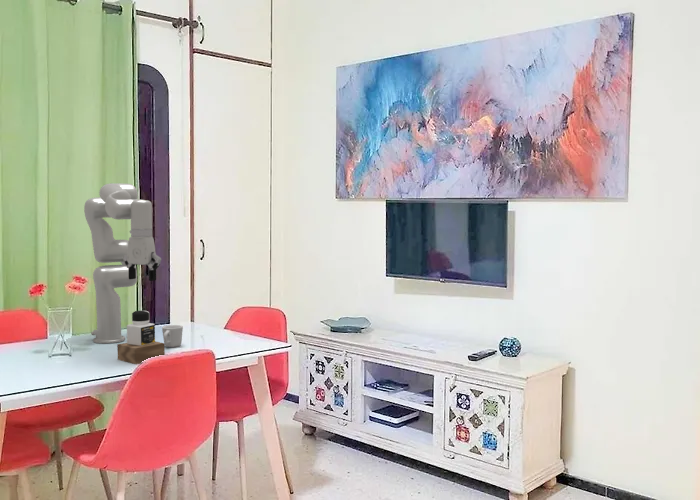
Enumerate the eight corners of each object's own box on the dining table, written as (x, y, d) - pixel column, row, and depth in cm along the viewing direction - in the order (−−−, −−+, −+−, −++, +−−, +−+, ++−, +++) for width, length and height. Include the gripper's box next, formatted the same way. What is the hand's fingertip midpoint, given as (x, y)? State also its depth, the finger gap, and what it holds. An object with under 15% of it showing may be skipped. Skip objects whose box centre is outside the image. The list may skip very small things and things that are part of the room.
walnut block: (117, 360, 256) (117, 344, 256) (146, 355, 265) (145, 339, 265) (136, 365, 248) (135, 348, 248) (164, 359, 258) (164, 343, 257)
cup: (174, 350, 273) (174, 329, 272) (155, 349, 274) (155, 329, 274) (186, 344, 283) (186, 325, 283) (168, 344, 285) (167, 324, 284)
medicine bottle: (141, 346, 252) (140, 313, 251) (126, 344, 255) (126, 311, 254) (155, 342, 258) (155, 310, 257) (141, 340, 261) (140, 308, 260)
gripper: (116, 233, 258) (117, 279, 260) (153, 235, 251) (153, 282, 252) (130, 232, 265) (131, 277, 266) (167, 233, 258) (167, 280, 259)
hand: (142, 279), depth 259 cm, fingers open, 9 cm apart
